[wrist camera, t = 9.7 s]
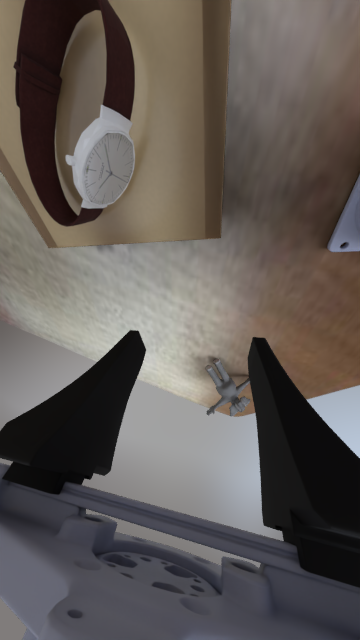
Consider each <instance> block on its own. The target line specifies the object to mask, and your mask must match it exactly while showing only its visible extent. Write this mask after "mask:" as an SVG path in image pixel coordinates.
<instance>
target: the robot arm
mask: <svg viewBox="0 0 360 640" xmlns="http://www.w3.org/2000/svg"><path fill="white" fill-rule="evenodd" d="M345 242H346V244H345V245H344V246H343V247H340V246H341V244H343V243H345ZM327 248H328V250H330V251H331V252H348V251H360V175H359V177H358V179H357V181H356V183H355V186H354V188H353V190H352V192H351V194H350V197H349V199H348V201H347V203H346V205H345V208H344V210H343V212H342V214H341V216H340V219H339V221H338V223H337V225H336V228H335V230H334V232H333V234H332V236H331V239H330V241H329V243H328V246H327ZM145 352H146V348H145V346H144V343H143V341H142V338H141V336H140V333H139V331H133V330H130V331H129V332H128V333H127V334H126V335H125V336H124V337H123V338H122V339H121V340H120V341H119V342H118V343H117V344H116V345H115V346H114V347H113V348H112V349H111V350H110V351H109V352H108V353H107V354H106V355H105V356H104V357H102V358H101V359H100V360H99V361H98V362H97V363H96V364H95V365H94V366H92V367H91V368H90V369H89V370H88V371H87V372H85V373H84V374H83V375H82V376H80V377H79V378H78V379H76V380H75V381H74V382H72V383H71V384H70V385H68V386H67V387H65V388H64V389H63V390H61V391H60V392H58V393H57V394H55V395H54V396H52V397H51V398H49V399H48V400H46V401H44V402H43V403H41V404H40V405H38V406H36V407H34V408H33V409H31V410H29V411H27V412H26V413H24V414H22V415H20V416H18V417H17V418H15V419H13V420H11V421H9V422H7V423H6V424H5V426H4V427H3V428H2V430H1V431H0V458H2V459H6V460H10V461H13V463H12V464H11V465H6V464H2V463H0V598H1V599H2V600H3V602H4V603H5V604H6V605H7V606H8V607H9V608H10V609H11V610H12V611H13V613H15V615H16V616H17V617H18V618H19V619H20V620H21V621H22V622H23V623H24V625H25V626H26V627H27V629H26V632H25V634H24V637H23V639H22V640H360V458H359V457H358V456H357V455H356V454H355V453H353V451H352V450H350V448H349V447H348V446H347V445H346V444H345V443H344V442H343V441H342V440H341V439H340V438H339V437H338V436H337V434H336V433H335V432H333V430H332V429H331V428H330V427H329V426H328V425H327V424H326V423H325V422H324V421H323V419H322V418H321V417H320V416H319V415H318V414H317V412H316V411H315V410H314V409H313V408H312V406H311V405H310V404H309V403H308V402H307V400H306V399H305V398H304V397H303V395H302V394H301V393H300V391H299V390H298V389H297V387H296V386H295V385H294V383H293V382H292V381H291V379H290V378H289V376H288V375H287V373H286V372H285V370H284V369H283V367H282V366H281V364H280V363H279V361H278V360H277V358H276V356H275V355H274V353H273V351H272V350H271V348H270V346H269V344H268V342H267V340H266V339H265V338H257V337H253V339H252V343H251V347H250V351H249V355H248V371H249V379H250V384H251V390H252V396H253V401H254V407H255V412H256V420H257V429H258V443H259V457H260V474H261V495H262V515H263V523H264V526H267V527H270V528H273V529H276V530H280V531H282V533H283V539H284V541H280V540H276V539H273V538H269V537H266V536H262V535H258V534H255V533H251V532H248V531H244V530H241V529H237V528H233V527H230V526H226V525H222V524H219V523H215V522H212V521H208V520H204V519H201V518H198V517H194V516H190V515H187V514H183V513H179V512H176V511H173V510H169V509H165V508H162V507H158V506H155V505H151V504H147V503H144V502H140V501H137V500H133V499H129V498H126V497H122V496H118V495H115V494H111V493H108V492H104V491H101V490H97V489H94V488H90V487H86V486H83V485H82V483H83V480H84V478H85V479H89V480H90V479H91V478H92V476H93V473H96V474H99V475H103V476H105V475H106V474H108V473H109V472H110V470H111V466H112V461H113V456H114V451H115V447H116V443H117V438H118V434H119V430H120V426H121V422H122V419H123V415H124V412H125V409H126V405H127V402H128V399H129V396H130V393H131V391H132V388H133V386H134V384H135V381H136V379H137V376H138V374H139V371H140V369H141V366H142V363H143V360H144V356H145ZM86 509H89V510H92V511H95V512H98V513H102V514H105V515H108V516H111V517H114V518H118V519H121V520H124V521H128V522H131V523H134V524H137V525H140V526H144V527H147V528H150V529H153V530H157V531H160V532H163V533H166V534H170V535H173V536H176V537H179V538H182V539H185V540H189V541H192V542H196V543H198V544H202V545H205V546H208V547H211V548H215V549H218V550H221V551H224V552H228V553H231V554H234V555H237V556H240V557H244V558H247V559H250V560H253V561H256V562H260V563H261V565H260V567H259V568H258V567H256V566H255V565H253V564H252V563H249V562H247V561H243V560H239V559H234V558H229V557H222V566H221V565H218V564H216V563H213V562H210V561H208V560H206V559H203V558H201V557H198V556H196V555H193V554H191V553H188V552H185V551H183V550H180V549H177V548H174V547H171V546H168V545H164V544H161V543H157V542H153V541H150V540H146V539H142V538H138V537H134V536H130V535H126V534H122V533H118V532H115V530H116V527H117V522H115V521H114V520H112V519H110V518H108V517H105V516H101V515H92V514H86Z"/></svg>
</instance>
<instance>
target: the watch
mask: <svg viewBox="0 0 360 640" xmlns="http://www.w3.org/2000/svg"><path fill="white" fill-rule="evenodd" d="M95 10H98V11H101V15H102V20H103V25H104V31H105V41H106V52H107V57H106V86H105V92H104V98H103V105H101V110H100V117H99V118H97V119H95V120H94V121H93V122H92V123H91V124H90V125H89V126H88V127H87V128H86V129H85V130H84V131H83V132H82V134H81V136H80V138H79V140H78V142H77V145H76V147H75V151H74V156H70V155H66V157H65V158H66V162H67V164H68V165H71V166H72V171H73V180H74V184H75V186H76V188H77V190H78V192H79V194H80V195H81V197H82V198H83V201H82V204H81V211H80V214H79V215H77V214H76V213H75V212H74V211H73V209H72V208H71V207H70V205H69V203H68V201H67V199H66V197H65V195H64V192H63V190H62V187H61V183H60V180H59V176H58V172H57V165H56V159H55V129H56V114H57V103H58V99H59V95H60V89H61V84H62V78H61V77H60V72H61V68H62V65H63V61H64V57H65V53H66V49H67V45H68V43H69V40H70V38H71V36H72V33H73V31H74V28H75V26H76V24H77V23H78V22H79V21H80V20H81V19H82V18H83V17H84V15H86V14H88V13H91V12H93V11H95ZM13 67H14V68H15V70H16V78H15V97H16V104H17V106H18V107H19V108H20V131H21V138H22V145H23V150H24V156H25V161H26V165H27V168H28V172H29V175H30V178H31V182H32V184H33V186H34V188H35V191H36V193H37V195H38V198H39V200H40V201H41V203H42V205H43V206H44V208H45V210H46V211H47V212H48V214H49V215H50V216H51V217H52V219H53V220H54V221H56V222H57V223H58V224H60V225H62V226H65V227H69V226H75V225H79V224H84V223H87V222H91V221H94V220H95V219H96V218H98V217H99V216H100V214H101V213H102V211H103V209H104V208H105V207H107V205H109V204H112V203H114V202H115V201H116V200H117V199H118V198H119V197H120V196H121V195H122V193H123V192H124V191H125V189H126V188H127V186H128V184H129V182H130V179H131V177H132V174H133V171H134V165H135V151H134V143H133V140H132V139H131V138H130V135H129V130H130V128H131V126H132V124H133V123H132V122H131V121H130V119H131V114H132V109H133V102H134V94H135V65H134V58H133V52H132V47H131V43H130V40H129V37H128V34H127V32H126V30H125V27H124V25H123V23H122V22H121V20H120V18H119V17H118V15H117V14H116V12H115V11H114V9H113V8H112V6H111V4H110V3H109V1H108V0H25V3H24V7H23V11H22V18H21V25H20V32H19V38H18V45H17V56H16V62H15V63H14V66H13Z"/></svg>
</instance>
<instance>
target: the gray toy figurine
mask: <svg viewBox="0 0 360 640" xmlns="http://www.w3.org/2000/svg"><path fill="white" fill-rule="evenodd" d="M213 363H214V364H215V366H216V367H217V369H218V371H219V373H220V374H221V376H222V378H223V379H220V378H219V377H218V376H217V374H216V373H215V371H214V370H213V368H212V366H211V365H208V366H206V368H205V369H206V370H207V372H208V373H209V375H210V376H211V377H212V379H213V381H214V383H215V385H216V389H217V391H218V393H219V394H220V395H222V398H221V399H220V400H219V401H218V402H217V403H216V404H215V405H214V406H212V407H211V408H210V409H209V410H208V411H207V415H210V414H211V413H214V411H215V409H216V408H217V407H219V406H222V405H224V404H226V403H228V402H231V403H232V405H231V407H230V408H229V409H230V416H234V415H235V414H236V413H237V412H238V411H239V412H242V411H244V410H245V406H247V404H249V402H250V399H247V398H246V397H242V398H240V400H239V398H238V395H239V394H240V392H241V391H242V390H243V389H244V388H245V387H246V385H247V384H249V383H250V379H249V378H248V379H247V380H246V381H245V382H244V383H242V384H240V385H239V386H238V387H236V385H235V383H234V381H233V380H232V379H231V378H230V377H229V376H228V374H227V373H226V371H225V369H224V368H223V366H222V364H221V362H220V360H219V359H215V360H214V361H213Z"/></svg>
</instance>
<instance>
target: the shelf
mask: <svg viewBox="0 0 360 640" xmlns="http://www.w3.org/2000/svg"><path fill="white" fill-rule="evenodd" d="M108 1H109V3H110V4H111V6H112V8H113V9H114V11H115V12H116V14H117V15H118V17H119V18H120V20H121V22H122V23H123V25H124V27H125V30H126V32H127V34H128V37H129V40H130V43H131V47H132V52H133V58H134V65H135V94H134V102H133V109H132V114H131V119H130V121H131V122H132V123H133V124H132V126H131V128H130V130H129V135H130V138H131V139H132V140H133V143H134V151H135V165H134V171H133V174H132V177H131V179H130V182H129V184H128V186H127V188H126V189H125V191H124V192H123V193H122V195H121V196H120V197H119V198H118V199H117V200H116V201H115V202H114V203H112V204H109V205H107V207H105V208H104V209H103V211H102V213H101V214H100V216H99V217H98V218H96V219H95V220H94V221H91V222H87V223H84V224H79V225H75V226H69V227H65V226H62V225H60V224H58V223H57V222H56V221H54V220H53V219H52V217H51V216H50V215H49V214H48V212H47V211H46V210H45V208H44V206H43V205H42V203H41V201H40V200H39V198H38V195H37V193H36V191H35V188H34V186H33V184H32V182H31V178H30V175H29V172H28V168H27V165H26V161H25V156H24V150H23V145H22V138H21V131H20V108H19V107H18V106H17V104H16V97H15V78H16V70H15V68H14V67H13V66H14V63H15V62H16V56H17V45H18V38H19V32H20V25H21V18H22V11H23V7H24V3H25V0H0V170H1V172H2V174H3V175H4V177H5V178H6V180H7V182H8V183H9V185H10V186H11V188H12V190H13V191H14V193H15V195H16V196H17V198H18V199H19V201H20V203H21V204H22V206H23V207H24V209H25V211H26V212H27V214H28V216H29V217H30V219H31V220H32V222H33V224H34V225H35V227H36V228H37V230H38V232H39V233H40V235H41V237H42V238H43V240H44V241H45V243H46V245H47V246H48V248H61V247H78V246H95V245H113V244H130V243H147V242H164V241H181V240H199V239H216V238H221V223H222V201H223V179H224V156H225V134H226V111H227V89H228V66H229V44H230V21H231V0H108ZM106 57H107V52H106V41H105V31H104V25H103V20H102V15H101V11H98V10H95V11H93V12H91V13H88V14H86V15H84V17H83V18H82V19H81V20H80V21H79V22H78V23H77V24H76V26H75V28H74V31H73V33H72V36H71V38H70V40H69V43H68V45H67V49H66V53H65V57H64V61H63V65H62V68H61V72H60V77H61V78H62V84H61V89H60V95H59V99H58V103H57V114H56V129H55V159H56V165H57V172H58V176H59V180H60V183H61V187H62V190H63V192H64V195H65V197H66V199H67V201H68V203H69V205H70V207H71V208H72V209H73V211H74V212H75V213H76V214H77V215H79V214H80V211H81V204H82V201H83V198H82V197H81V195H80V194H79V192H78V190H77V188H76V186H75V184H74V180H73V171H72V166H71V165H68V164H67V162H66V158H65V157H66V155H70V156H74V151H75V147H76V145H77V142H78V140H79V138H80V136H81V134H82V132H83V131H84V130H85V129H86V128H87V127H88V126H89V125H90V124H91V123H92V122H93V121H94V120H95V119H97V118H99V117H100V110H101V105H103V98H104V92H105V86H106Z"/></svg>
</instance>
